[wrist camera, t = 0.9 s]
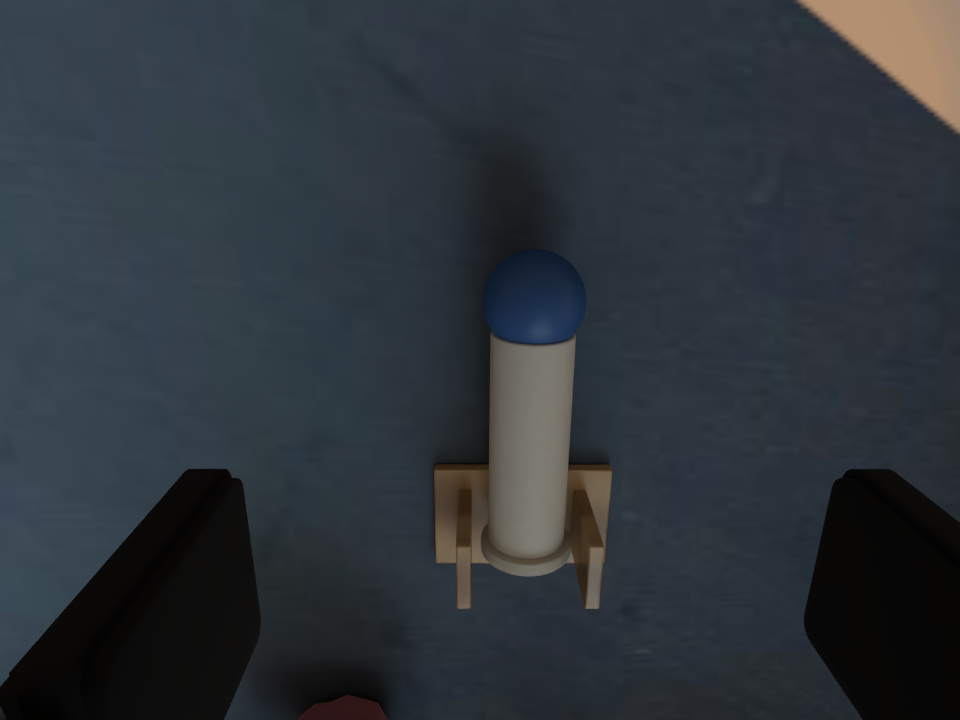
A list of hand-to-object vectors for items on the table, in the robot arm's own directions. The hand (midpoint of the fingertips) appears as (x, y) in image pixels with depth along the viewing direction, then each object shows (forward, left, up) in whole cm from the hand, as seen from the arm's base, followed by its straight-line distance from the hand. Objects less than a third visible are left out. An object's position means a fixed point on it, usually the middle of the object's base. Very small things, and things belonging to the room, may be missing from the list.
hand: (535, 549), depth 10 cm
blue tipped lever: (+4, +1, -16) cm, 17 cm away
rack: (+10, +1, -17) cm, 20 cm away
